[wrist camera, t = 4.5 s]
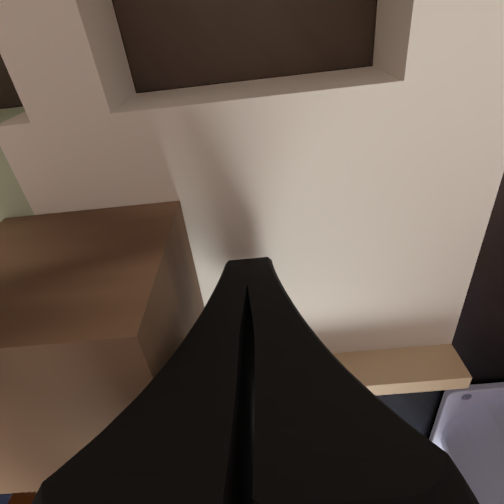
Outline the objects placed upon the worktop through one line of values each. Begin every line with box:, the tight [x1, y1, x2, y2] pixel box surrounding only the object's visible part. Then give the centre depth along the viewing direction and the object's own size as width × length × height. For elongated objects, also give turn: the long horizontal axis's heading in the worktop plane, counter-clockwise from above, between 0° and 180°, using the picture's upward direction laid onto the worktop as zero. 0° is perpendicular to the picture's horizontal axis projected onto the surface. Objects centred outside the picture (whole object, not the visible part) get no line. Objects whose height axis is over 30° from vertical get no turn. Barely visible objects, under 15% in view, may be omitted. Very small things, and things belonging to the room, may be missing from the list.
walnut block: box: [0, 201, 204, 494], centre depth 9 cm, size 5×5×5 cm
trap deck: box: [0, 0, 504, 396], centre depth 9 cm, size 20×18×5 cm
